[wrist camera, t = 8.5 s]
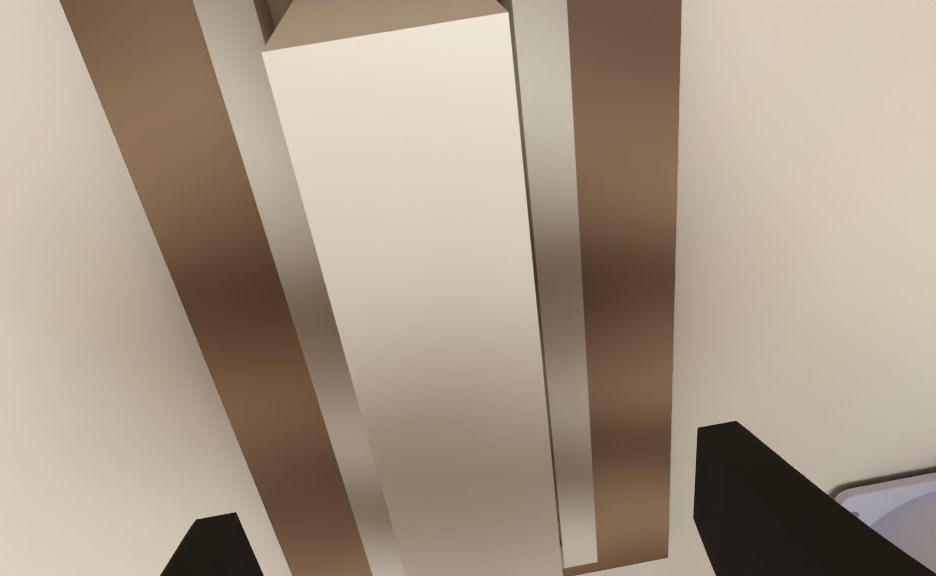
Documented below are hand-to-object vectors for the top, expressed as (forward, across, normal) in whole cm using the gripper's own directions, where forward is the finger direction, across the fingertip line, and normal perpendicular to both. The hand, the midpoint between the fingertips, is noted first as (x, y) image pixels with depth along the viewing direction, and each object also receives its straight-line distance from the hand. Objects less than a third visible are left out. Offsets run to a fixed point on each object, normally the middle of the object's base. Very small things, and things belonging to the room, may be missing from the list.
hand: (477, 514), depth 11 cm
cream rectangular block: (+7, 0, 0) cm, 7 cm away
